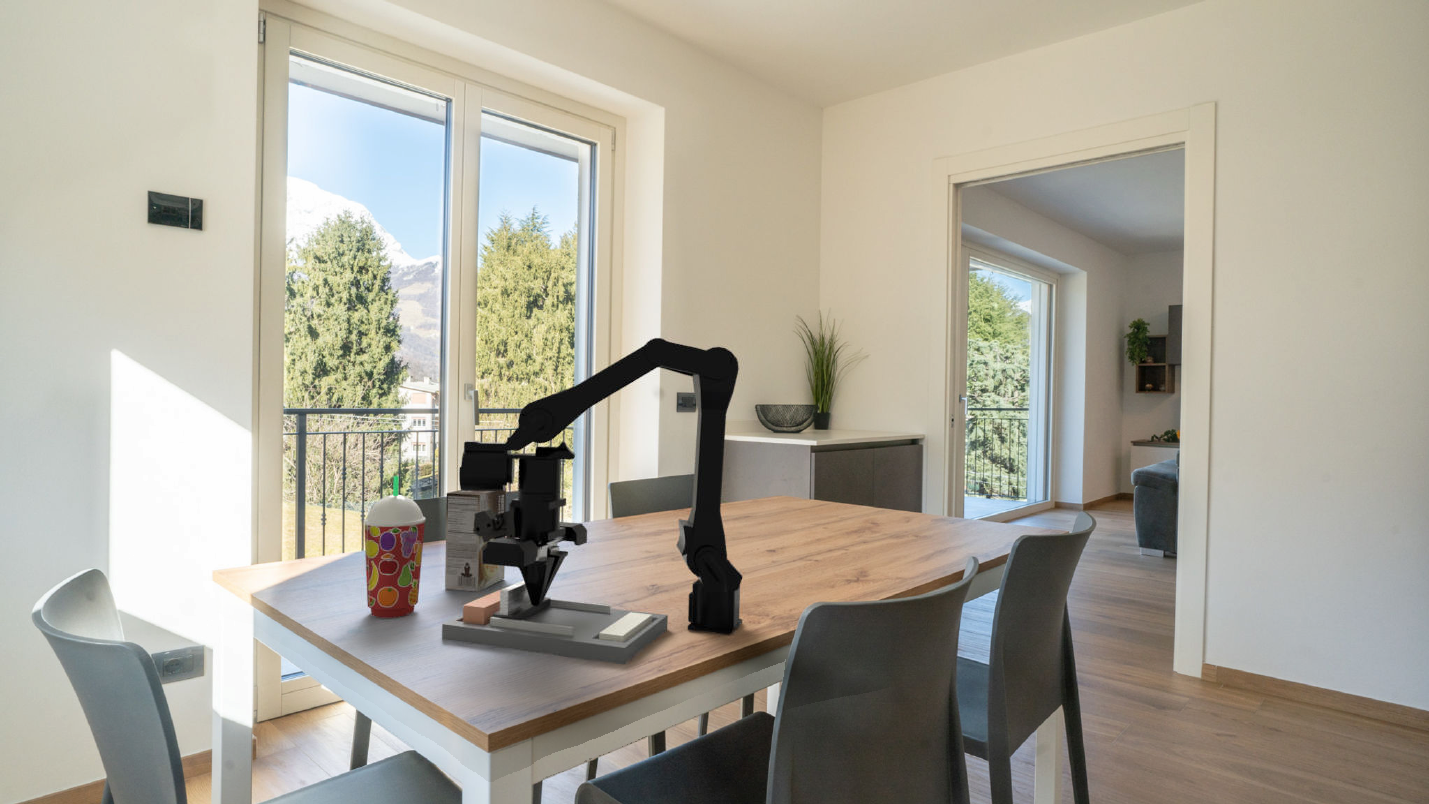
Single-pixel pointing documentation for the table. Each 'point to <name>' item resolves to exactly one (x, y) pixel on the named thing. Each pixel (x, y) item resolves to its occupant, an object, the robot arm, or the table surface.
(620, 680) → the table surface
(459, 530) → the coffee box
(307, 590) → the table surface
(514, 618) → the slider paddle
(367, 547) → the smoothie
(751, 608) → the table surface
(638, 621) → the button white
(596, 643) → the panel
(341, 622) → the table surface
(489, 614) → the button terracotta
